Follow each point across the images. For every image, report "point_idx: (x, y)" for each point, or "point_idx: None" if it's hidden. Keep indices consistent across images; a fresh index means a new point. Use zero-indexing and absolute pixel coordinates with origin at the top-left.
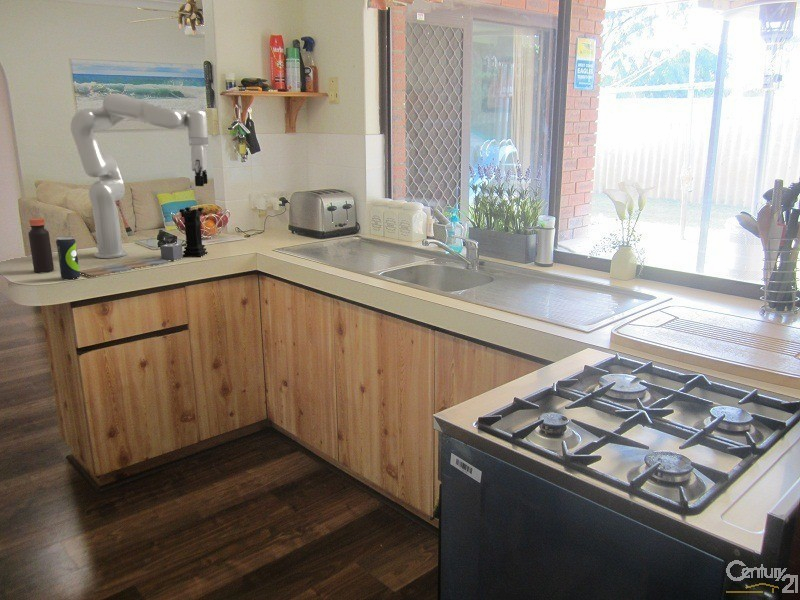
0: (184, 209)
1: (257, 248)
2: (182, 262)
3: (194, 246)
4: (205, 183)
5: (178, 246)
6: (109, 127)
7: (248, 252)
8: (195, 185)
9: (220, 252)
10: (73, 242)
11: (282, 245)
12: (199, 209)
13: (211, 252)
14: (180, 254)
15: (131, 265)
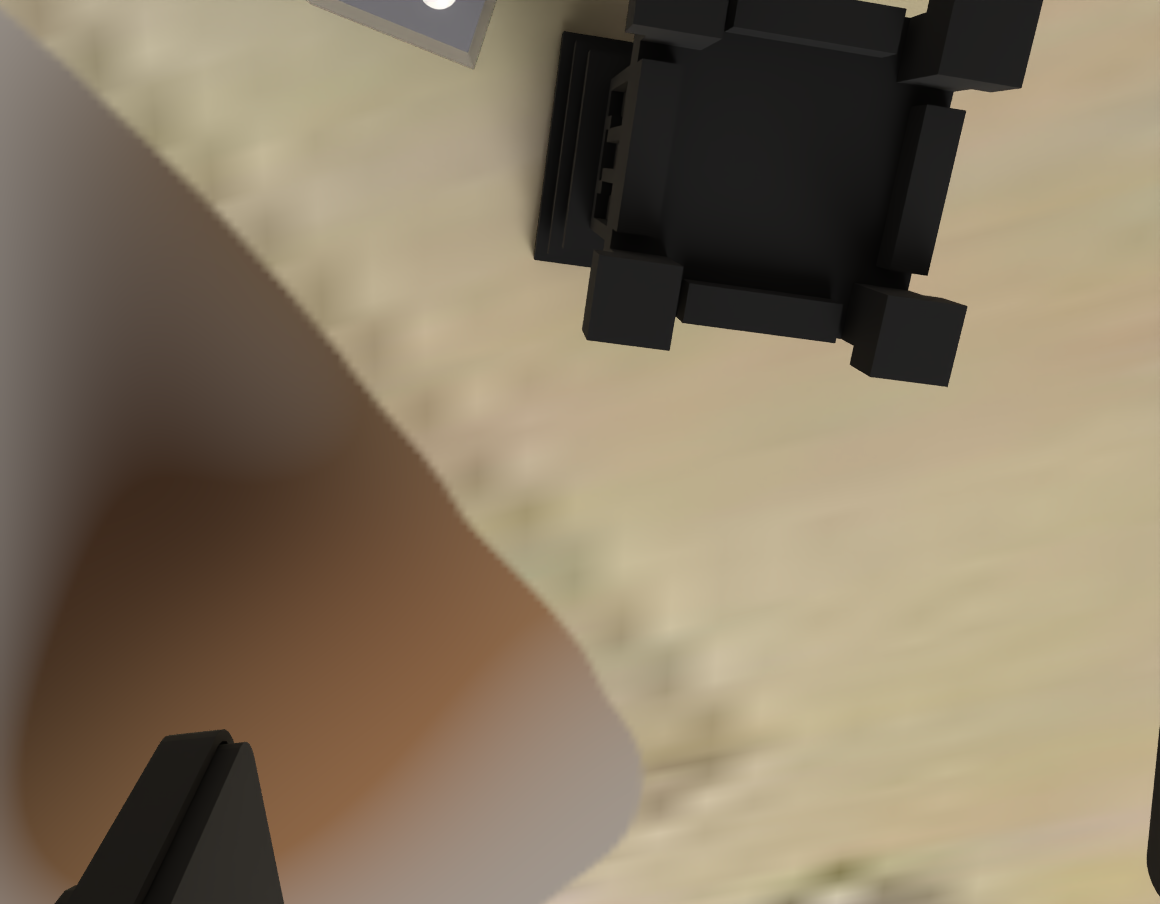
0: (704, 37)
1: (959, 718)
2: (263, 123)
3: (595, 187)
4: (1151, 831)
5: (395, 25)
6: None
7: (767, 677)
8: (161, 743)
9: (791, 406)
10: None
11: (1074, 901)
12: (868, 325)
13: None
14: (429, 48)
15: None
